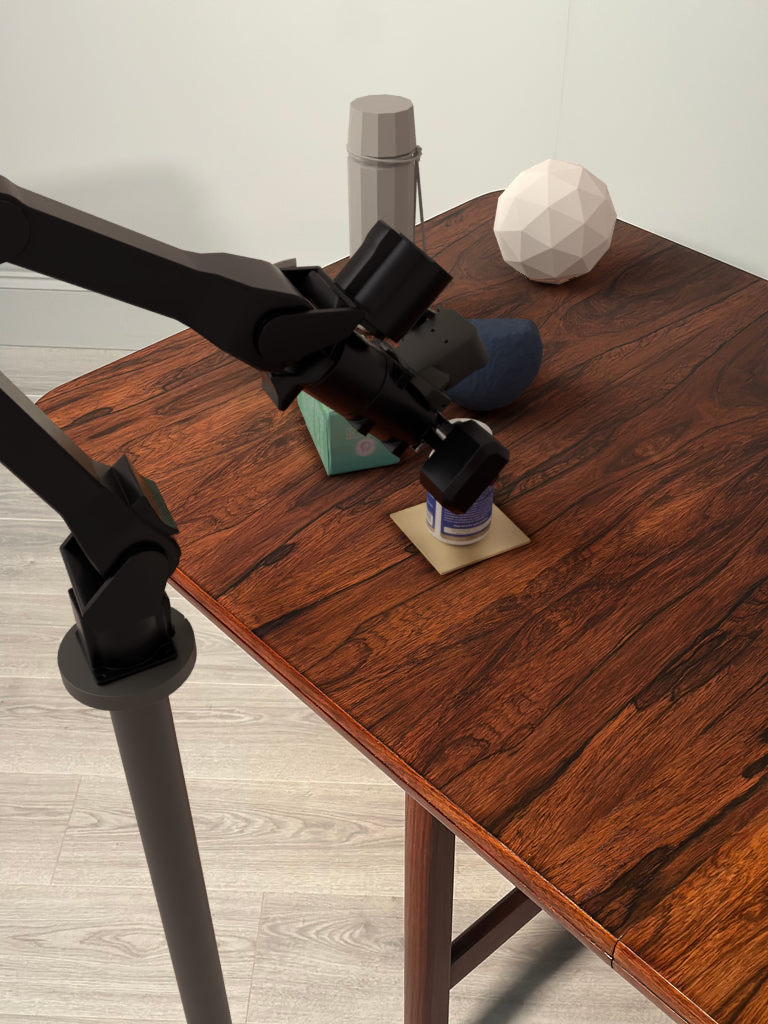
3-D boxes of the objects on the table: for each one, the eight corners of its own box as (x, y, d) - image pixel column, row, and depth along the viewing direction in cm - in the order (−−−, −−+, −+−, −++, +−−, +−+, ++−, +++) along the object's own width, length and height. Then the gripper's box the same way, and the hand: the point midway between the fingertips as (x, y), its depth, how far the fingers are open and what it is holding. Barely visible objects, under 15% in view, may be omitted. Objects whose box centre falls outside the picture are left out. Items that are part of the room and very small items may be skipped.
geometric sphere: (516, 317, 134) (449, 223, 128) (579, 243, 139) (517, 149, 133) (594, 302, 122) (524, 198, 116) (659, 221, 127) (595, 118, 121)
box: (327, 479, 98) (325, 411, 93) (296, 405, 108) (292, 341, 103) (402, 467, 99) (403, 399, 95) (364, 395, 110) (363, 331, 105)
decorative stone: (556, 422, 105) (566, 334, 99) (444, 441, 103) (447, 351, 97) (512, 365, 114) (519, 281, 108) (409, 381, 112) (410, 296, 106)
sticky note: (441, 575, 87) (441, 572, 87) (389, 516, 93) (389, 514, 93) (530, 542, 90) (530, 540, 90) (475, 488, 97) (475, 485, 97)
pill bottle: (503, 524, 92) (512, 429, 86) (465, 556, 88) (472, 460, 82) (450, 499, 95) (455, 406, 89) (412, 530, 91) (415, 434, 85)
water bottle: (366, 344, 118) (362, 119, 103) (340, 314, 124) (333, 97, 108) (438, 328, 121) (446, 107, 106) (410, 300, 127) (413, 86, 111)
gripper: (496, 349, 69) (607, 442, 80) (366, 246, 82) (477, 338, 93) (391, 477, 71) (513, 551, 82) (281, 357, 84) (399, 435, 95)
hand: (475, 461), depth 88 cm, fingers closed on pill bottle, 6 cm apart
